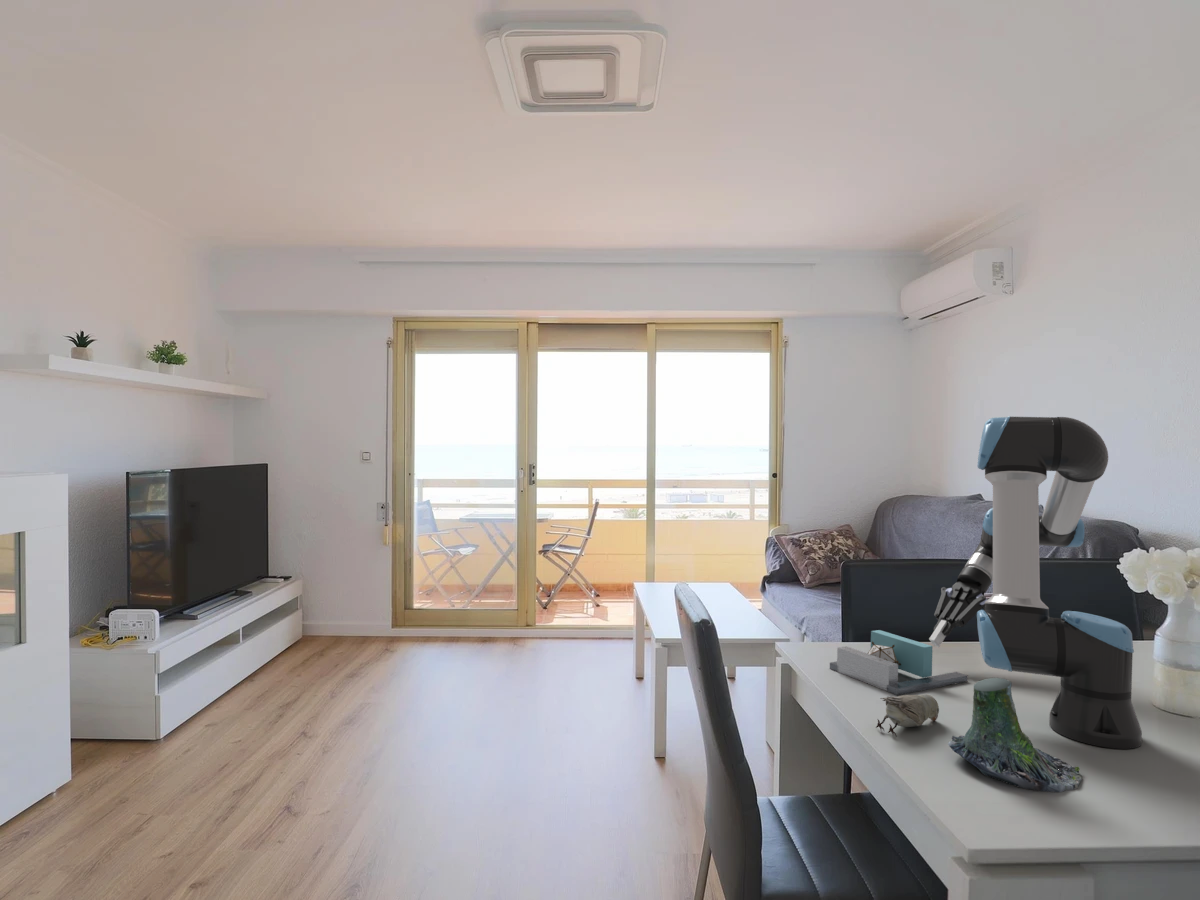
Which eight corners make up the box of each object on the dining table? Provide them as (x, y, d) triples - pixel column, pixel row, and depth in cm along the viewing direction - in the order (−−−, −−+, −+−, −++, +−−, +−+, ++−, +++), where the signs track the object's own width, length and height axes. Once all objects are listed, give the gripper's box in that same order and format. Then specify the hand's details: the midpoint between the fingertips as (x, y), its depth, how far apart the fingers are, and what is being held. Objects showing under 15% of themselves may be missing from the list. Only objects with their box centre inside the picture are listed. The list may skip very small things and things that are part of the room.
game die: (883, 694, 172) (879, 668, 167) (857, 672, 179) (853, 646, 174) (910, 673, 174) (907, 647, 169) (883, 653, 181) (880, 627, 176)
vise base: (967, 681, 171) (967, 656, 171) (897, 695, 161) (897, 669, 161) (896, 657, 190) (897, 635, 190) (829, 668, 180) (830, 644, 180)
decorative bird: (947, 726, 144) (947, 689, 144) (894, 741, 136) (895, 702, 136) (923, 716, 149) (924, 681, 149) (871, 730, 141) (872, 693, 141)
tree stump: (1108, 803, 114) (1084, 695, 114) (977, 819, 118) (953, 714, 117) (1056, 749, 132) (1035, 656, 132) (944, 764, 136) (923, 674, 135)
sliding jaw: (931, 676, 170) (932, 646, 169) (923, 677, 168) (923, 647, 168) (878, 657, 184) (879, 629, 184) (870, 658, 183) (871, 631, 182)
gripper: (1007, 588, 184) (963, 659, 177) (962, 579, 196) (919, 645, 188) (994, 569, 182) (949, 640, 174) (949, 561, 193) (905, 627, 186)
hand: (933, 643), depth 181 cm, fingers closed
